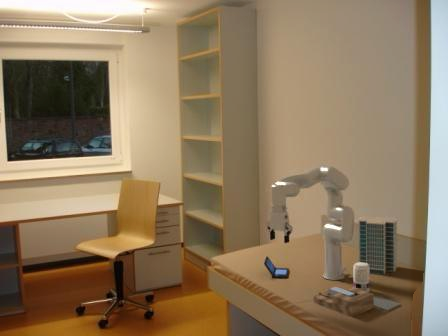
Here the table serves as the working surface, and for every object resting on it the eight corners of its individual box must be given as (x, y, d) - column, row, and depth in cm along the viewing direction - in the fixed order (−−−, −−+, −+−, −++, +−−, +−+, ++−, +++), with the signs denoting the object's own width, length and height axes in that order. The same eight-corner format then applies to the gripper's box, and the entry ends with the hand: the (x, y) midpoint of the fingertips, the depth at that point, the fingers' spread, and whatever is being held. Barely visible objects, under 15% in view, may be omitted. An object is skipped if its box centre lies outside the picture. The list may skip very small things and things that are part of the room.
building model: (357, 271, 285) (357, 222, 282) (362, 263, 300) (361, 216, 297) (393, 275, 277) (393, 224, 273) (396, 266, 292) (396, 218, 288)
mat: (369, 295, 249) (369, 293, 249) (400, 305, 235) (400, 303, 235) (356, 300, 243) (356, 299, 242) (387, 311, 228) (387, 310, 228)
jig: (313, 302, 243) (313, 288, 242) (334, 294, 252) (334, 281, 252) (352, 317, 224) (352, 302, 223) (373, 307, 233) (373, 293, 232)
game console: (287, 279, 279) (287, 263, 278) (264, 278, 281) (263, 263, 280) (289, 270, 294) (289, 255, 293) (267, 269, 296) (266, 255, 295)
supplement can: (350, 290, 256) (350, 263, 255) (362, 287, 260) (362, 260, 258) (360, 295, 249) (360, 267, 247) (372, 292, 252) (372, 264, 251)
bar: (329, 296, 242) (329, 288, 241) (335, 294, 244) (335, 286, 244) (348, 303, 232) (348, 295, 232) (354, 301, 235) (354, 293, 234)
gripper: (296, 209, 241) (297, 242, 243) (271, 205, 254) (272, 236, 256) (286, 211, 236) (287, 245, 238) (261, 207, 249) (262, 239, 251)
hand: (279, 240), depth 247 cm, fingers open, 9 cm apart
